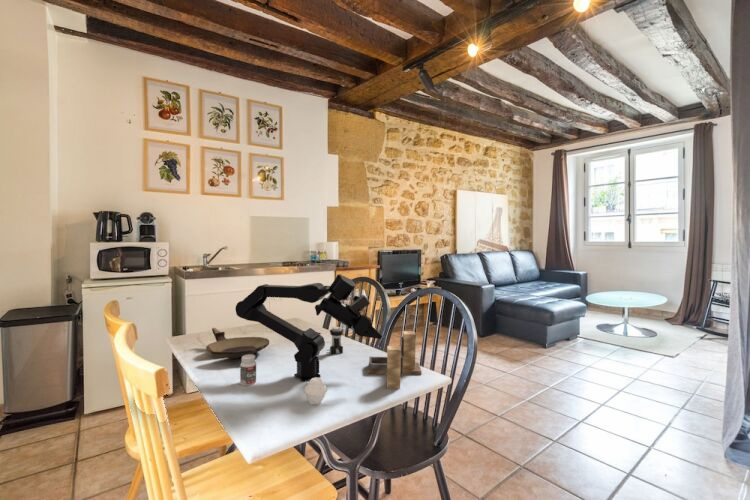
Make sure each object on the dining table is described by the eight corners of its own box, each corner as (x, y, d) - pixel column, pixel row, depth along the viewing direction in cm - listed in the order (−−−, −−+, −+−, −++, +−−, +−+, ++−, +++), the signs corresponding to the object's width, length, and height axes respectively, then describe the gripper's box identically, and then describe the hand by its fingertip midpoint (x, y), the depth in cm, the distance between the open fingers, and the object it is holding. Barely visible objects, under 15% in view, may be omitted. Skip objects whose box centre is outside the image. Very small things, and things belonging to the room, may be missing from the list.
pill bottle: (248, 387, 108) (248, 360, 108) (236, 384, 110) (236, 357, 110) (259, 381, 112) (259, 355, 112) (248, 378, 114) (248, 353, 114)
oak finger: (387, 388, 109) (387, 349, 108) (386, 382, 113) (387, 345, 112) (402, 388, 109) (402, 350, 108) (401, 383, 113) (401, 345, 112)
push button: (328, 356, 136) (329, 330, 136) (324, 352, 141) (324, 327, 141) (344, 354, 139) (345, 328, 139) (340, 350, 144) (340, 325, 144)
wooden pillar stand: (368, 373, 120) (369, 335, 119) (368, 365, 128) (369, 329, 127) (421, 374, 120) (422, 336, 119) (418, 365, 128) (419, 329, 127)
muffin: (327, 397, 102) (328, 373, 102) (325, 407, 96) (325, 382, 96) (306, 396, 102) (306, 373, 102) (302, 407, 96) (302, 381, 96)
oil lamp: (211, 371, 119) (211, 349, 119) (201, 347, 145) (201, 328, 144) (277, 360, 131) (277, 339, 131) (256, 339, 157) (257, 322, 156)
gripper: (357, 290, 107) (398, 317, 109) (347, 288, 125) (383, 311, 127) (337, 322, 105) (380, 349, 107) (329, 315, 123) (366, 338, 125)
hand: (377, 335), depth 117 cm, fingers open, 9 cm apart
